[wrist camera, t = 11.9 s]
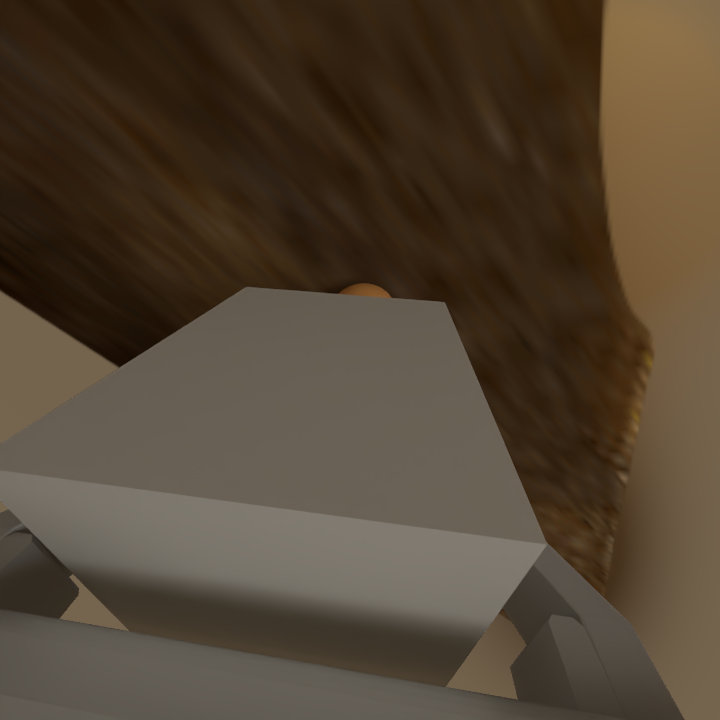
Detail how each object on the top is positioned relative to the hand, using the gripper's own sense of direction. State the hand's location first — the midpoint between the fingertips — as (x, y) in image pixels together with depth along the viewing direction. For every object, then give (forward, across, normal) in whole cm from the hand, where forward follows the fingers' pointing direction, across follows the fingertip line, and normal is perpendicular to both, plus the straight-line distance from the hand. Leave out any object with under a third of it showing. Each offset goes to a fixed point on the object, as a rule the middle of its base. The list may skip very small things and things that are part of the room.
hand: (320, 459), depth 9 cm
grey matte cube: (+4, 0, -1) cm, 4 cm away
